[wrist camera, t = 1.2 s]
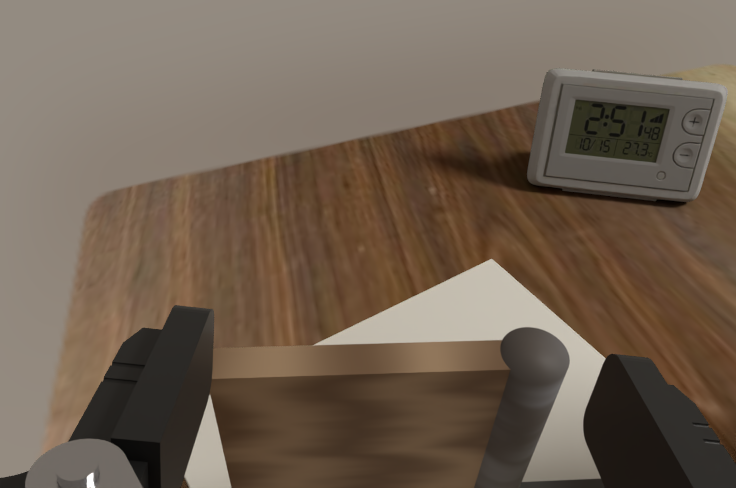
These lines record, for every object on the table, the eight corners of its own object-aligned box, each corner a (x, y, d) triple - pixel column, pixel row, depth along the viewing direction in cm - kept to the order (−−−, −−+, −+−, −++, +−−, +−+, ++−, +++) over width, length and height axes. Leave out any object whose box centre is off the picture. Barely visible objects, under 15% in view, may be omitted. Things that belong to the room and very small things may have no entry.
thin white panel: (489, 267, 53) (492, 257, 52) (823, 565, 36) (834, 556, 35) (160, 428, 40) (157, 418, 40) (430, 993, 24) (433, 994, 23)
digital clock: (516, 187, 61) (540, 87, 54) (530, 139, 67) (554, 44, 60) (695, 229, 57) (746, 127, 50) (692, 174, 64) (737, 77, 57)
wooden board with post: (676, 461, 38) (777, 320, 30) (698, 510, 36) (814, 373, 28) (242, 480, 37) (213, 335, 28) (237, 532, 34) (204, 393, 26)
